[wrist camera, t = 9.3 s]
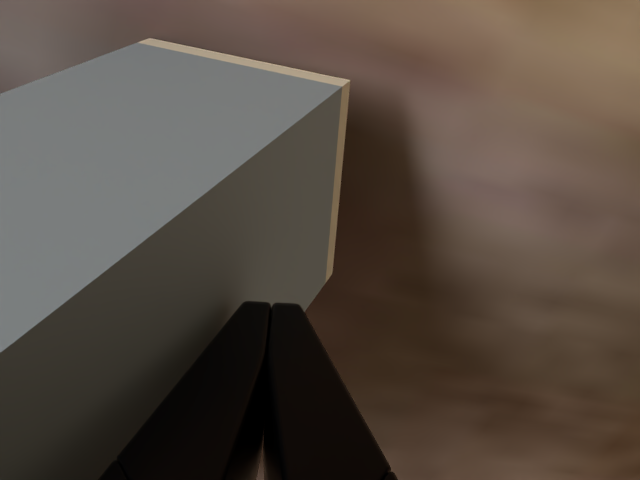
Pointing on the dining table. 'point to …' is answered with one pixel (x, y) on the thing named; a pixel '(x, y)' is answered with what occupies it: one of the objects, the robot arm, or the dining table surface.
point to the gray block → (149, 233)
